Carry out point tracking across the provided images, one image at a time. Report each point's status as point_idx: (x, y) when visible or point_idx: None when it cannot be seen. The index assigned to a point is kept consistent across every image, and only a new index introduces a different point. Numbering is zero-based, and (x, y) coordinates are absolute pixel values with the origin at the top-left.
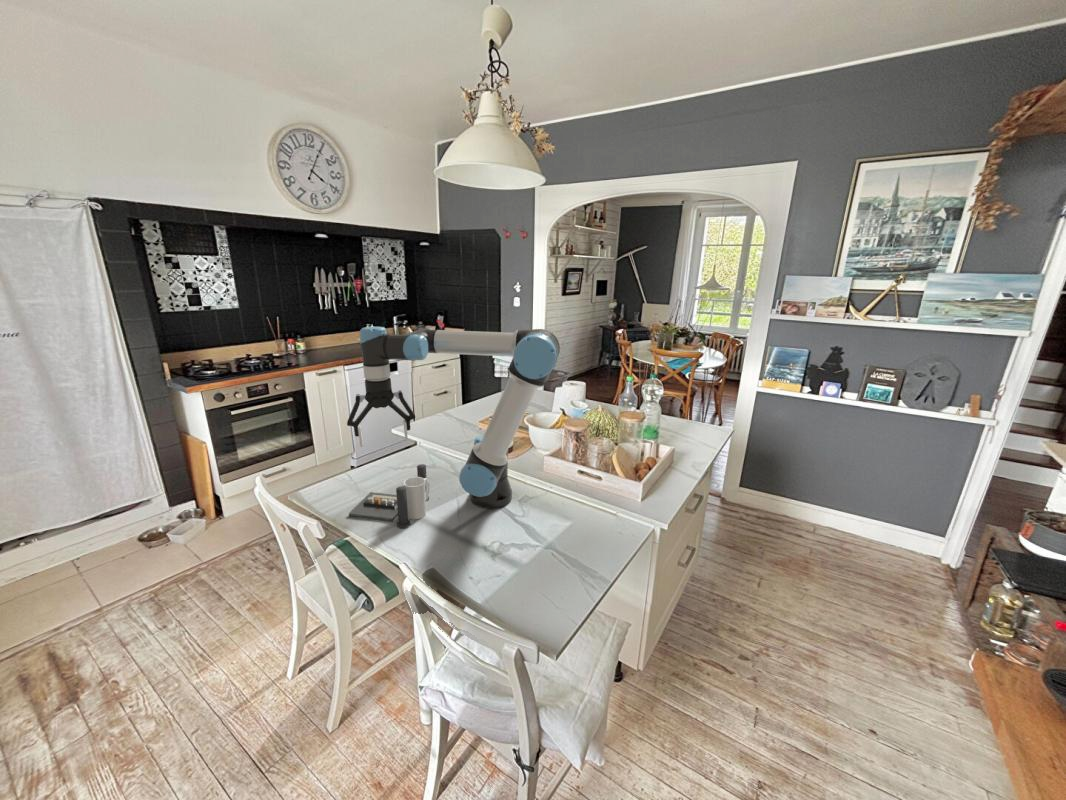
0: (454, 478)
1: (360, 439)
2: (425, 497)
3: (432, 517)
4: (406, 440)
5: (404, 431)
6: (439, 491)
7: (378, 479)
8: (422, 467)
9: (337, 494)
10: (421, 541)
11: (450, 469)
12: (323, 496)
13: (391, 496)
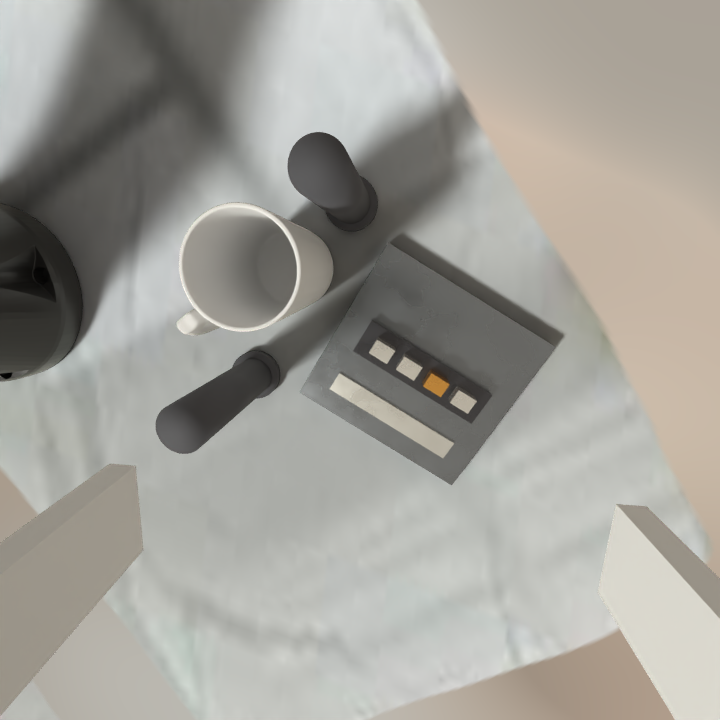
0: None
1: (700, 577)
2: (226, 253)
3: None
4: (118, 469)
5: (52, 575)
6: None
7: (408, 587)
8: (176, 410)
9: (575, 531)
10: (297, 53)
11: None
12: None
13: (374, 420)
